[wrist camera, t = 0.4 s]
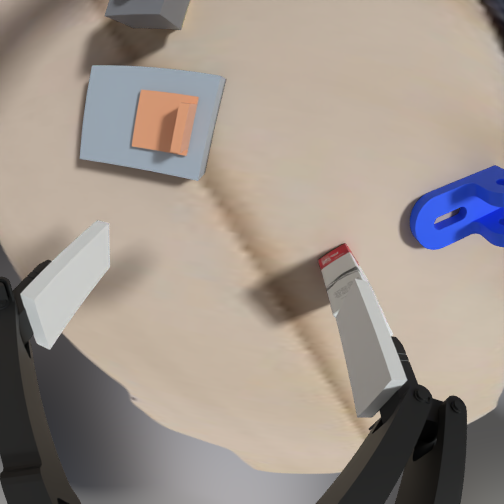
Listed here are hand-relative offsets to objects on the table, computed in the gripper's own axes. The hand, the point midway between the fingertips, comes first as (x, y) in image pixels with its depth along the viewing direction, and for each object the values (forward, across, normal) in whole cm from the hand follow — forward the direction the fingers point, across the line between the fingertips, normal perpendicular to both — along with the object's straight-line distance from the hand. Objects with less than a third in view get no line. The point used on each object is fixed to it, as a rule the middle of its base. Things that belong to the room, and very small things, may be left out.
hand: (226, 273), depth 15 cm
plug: (+23, -14, +18) cm, 33 cm away
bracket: (+24, +31, +4) cm, 39 cm away
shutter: (+19, -10, +4) cm, 22 cm away
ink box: (+23, +16, -11) cm, 31 cm away
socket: (+23, -13, +4) cm, 27 cm away
